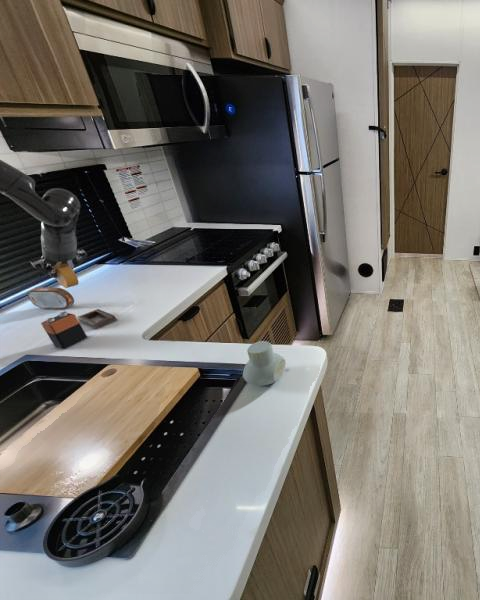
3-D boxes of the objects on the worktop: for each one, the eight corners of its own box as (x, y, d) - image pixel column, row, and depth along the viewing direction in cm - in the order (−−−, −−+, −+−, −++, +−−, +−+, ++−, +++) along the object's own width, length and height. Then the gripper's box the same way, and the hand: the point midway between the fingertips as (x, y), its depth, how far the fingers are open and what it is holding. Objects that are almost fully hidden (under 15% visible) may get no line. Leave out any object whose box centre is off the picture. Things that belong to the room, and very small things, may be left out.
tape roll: (70, 292, 109) (62, 271, 104) (56, 282, 111) (47, 261, 107) (81, 288, 111) (74, 268, 107) (67, 278, 114) (60, 258, 109)
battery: (88, 337, 108) (73, 311, 103) (64, 349, 102) (47, 322, 97) (79, 335, 109) (64, 309, 104) (54, 347, 103) (38, 320, 98)
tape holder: (96, 329, 112) (93, 324, 111) (79, 321, 117) (76, 316, 116) (117, 320, 117) (115, 315, 116) (100, 313, 122) (98, 308, 121)
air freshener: (262, 363, 94) (254, 334, 89) (289, 365, 93) (283, 335, 89) (242, 390, 84) (232, 359, 80) (273, 392, 84) (264, 361, 79)
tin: (78, 306, 128) (68, 286, 124) (71, 309, 125) (60, 290, 121) (41, 306, 128) (29, 286, 124) (33, 310, 126) (21, 290, 122)
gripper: (79, 228, 105) (78, 258, 116) (19, 240, 94) (24, 272, 105) (95, 246, 105) (93, 275, 116) (37, 260, 94) (40, 290, 105)
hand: (60, 273), depth 110 cm, fingers closed on tape roll, 3 cm apart
